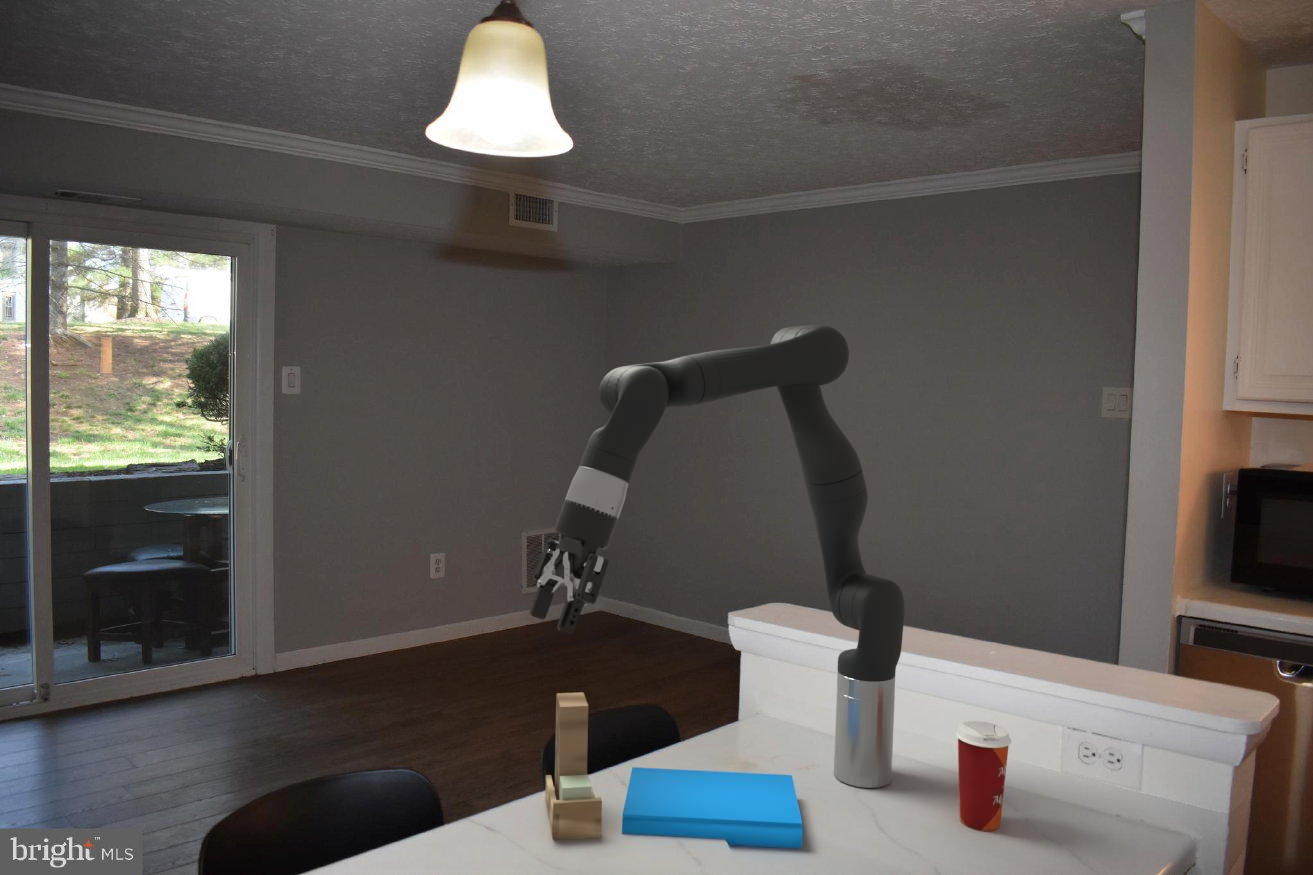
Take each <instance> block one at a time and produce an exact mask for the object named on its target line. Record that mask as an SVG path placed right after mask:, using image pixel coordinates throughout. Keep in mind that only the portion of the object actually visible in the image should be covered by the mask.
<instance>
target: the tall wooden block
mask: <svg viewBox="0 0 1313 875" xmlns="http://www.w3.org/2000/svg"><path fill="white" fill-rule="evenodd" d="M555 697H556V698H555V699H556V700H555V702H556V703H555V705H556V706H555V742H554V743H555V745H554V746H555V748H554V750H555V751H554V753H555V754H554V791H555V796H556V800H559V785H560V776H572V775H588V740H589V739H588V737H589V734H588V731H589V703H588V701H587V698H586V696H585V693H584V692H581V691H580V692H561V693H558V692H557V693H556V696H555Z"/></svg>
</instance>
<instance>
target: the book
mask: <svg viewBox="0 0 1313 875" xmlns="http://www.w3.org/2000/svg"><path fill="white" fill-rule="evenodd" d="M796 793H797V792H796V788H795V784H794V779H793V775H792V774H775V773H774V774H773V773H758V772H756V773H754V772H735V771H732V772H731V771H717V770H697V769H694V770H693V769H677V768H674V769H673V768H672V769H671V768H657V767H656V768H655V767H636V766H634V767H633V766H632V767H631V773H630V777H629V781H628V788H627V791H626V796H625V801H624V806H623V809H622V810H623V811H622V820H621V821H622V822H621V834H626V835H627V834H628V835H644V836H645V835H648V836H662V837H663V836H666V837H667V836H668V837H684V838H686V837H687V838H701V839H702V838H704V839H705V838H706V839H720V840H721V839H723V840H725V842H726V843H727V846H729V845H730V846H744V847H745V846H746V847H747V846H748V847H764V848H765V847H767V848H768V847H769V848H780V849H781V848H784V849H785V848H786V849H801V850H802V849H803V821H802V820H803V819H802V816H801V810H800V806H799V802H798V797H797V794H796Z"/></svg>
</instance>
